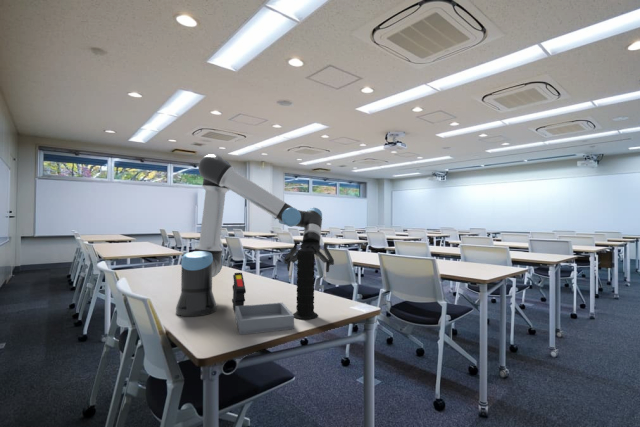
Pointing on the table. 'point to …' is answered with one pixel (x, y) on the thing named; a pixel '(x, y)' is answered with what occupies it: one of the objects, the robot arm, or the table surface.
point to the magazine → (238, 290)
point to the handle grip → (305, 285)
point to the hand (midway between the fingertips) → (307, 277)
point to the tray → (263, 318)
